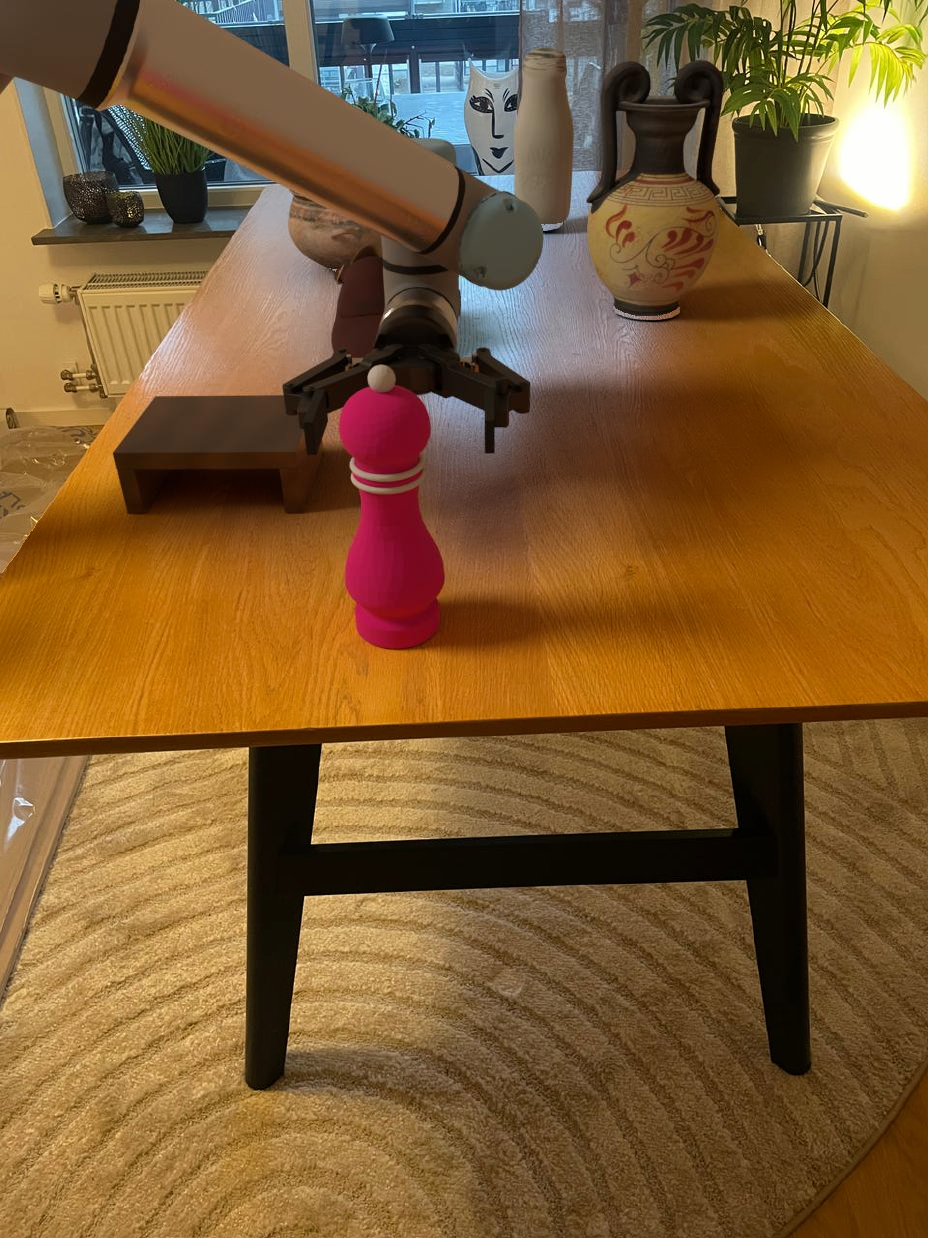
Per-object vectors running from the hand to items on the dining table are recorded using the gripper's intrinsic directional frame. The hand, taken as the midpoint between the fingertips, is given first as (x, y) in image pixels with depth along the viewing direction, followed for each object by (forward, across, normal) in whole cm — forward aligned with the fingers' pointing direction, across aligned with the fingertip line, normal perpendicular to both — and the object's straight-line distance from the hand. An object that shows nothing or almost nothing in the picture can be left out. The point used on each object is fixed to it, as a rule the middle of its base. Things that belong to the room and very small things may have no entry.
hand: (399, 438), depth 73 cm
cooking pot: (-90, +15, -12) cm, 91 cm away
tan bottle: (-113, -16, -12) cm, 115 cm away
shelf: (-16, +18, -11) cm, 26 cm away
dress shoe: (-50, +8, -12) cm, 51 cm away
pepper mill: (+8, 0, -11) cm, 14 cm away
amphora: (-66, -28, -12) cm, 73 cm away
